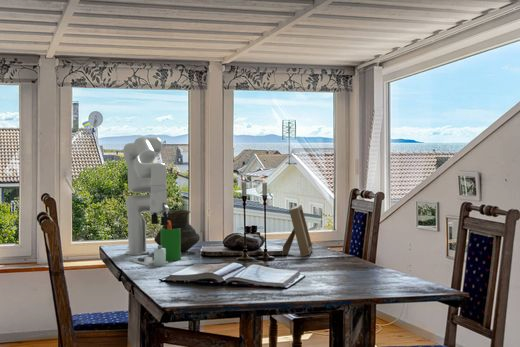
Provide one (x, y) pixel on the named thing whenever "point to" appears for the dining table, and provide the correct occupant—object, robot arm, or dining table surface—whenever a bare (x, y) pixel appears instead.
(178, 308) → the dining table surface
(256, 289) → the dining table surface
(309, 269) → the dining table surface
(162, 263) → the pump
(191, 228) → the ceramic pot
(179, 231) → the motor
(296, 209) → the photo frame
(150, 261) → the clip bracket
